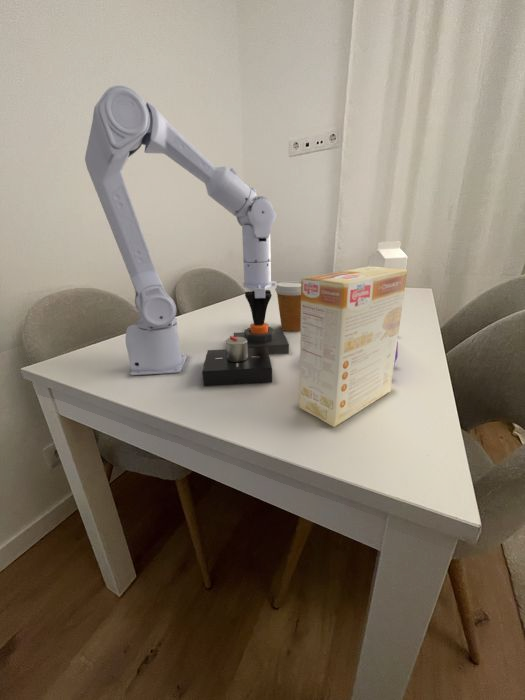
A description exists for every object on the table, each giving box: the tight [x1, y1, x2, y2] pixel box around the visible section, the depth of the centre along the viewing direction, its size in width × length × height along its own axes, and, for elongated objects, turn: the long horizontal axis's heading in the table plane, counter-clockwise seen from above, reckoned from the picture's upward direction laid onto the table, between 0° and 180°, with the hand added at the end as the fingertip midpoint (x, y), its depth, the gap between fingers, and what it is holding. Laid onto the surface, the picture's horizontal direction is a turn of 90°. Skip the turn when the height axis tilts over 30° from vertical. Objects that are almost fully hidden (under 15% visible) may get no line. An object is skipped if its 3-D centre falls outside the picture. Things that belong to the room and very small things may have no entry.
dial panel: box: [201, 347, 273, 388], centre depth 57 cm, size 12×10×3 cm
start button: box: [249, 322, 269, 334], centre depth 68 cm, size 4×4×2 cm
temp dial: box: [224, 335, 248, 362], centre depth 56 cm, size 4×4×4 cm
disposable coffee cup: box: [275, 280, 301, 333], centre depth 81 cm, size 10×10×12 cm
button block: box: [233, 326, 290, 356], centre depth 69 cm, size 12×10×4 cm
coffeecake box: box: [298, 266, 408, 428], centre depth 44 cm, size 15×7×20 cm, turn 129°
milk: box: [367, 240, 409, 270], centre depth 72 cm, size 6×6×22 cm
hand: (258, 323), depth 68 cm, fingers closed
